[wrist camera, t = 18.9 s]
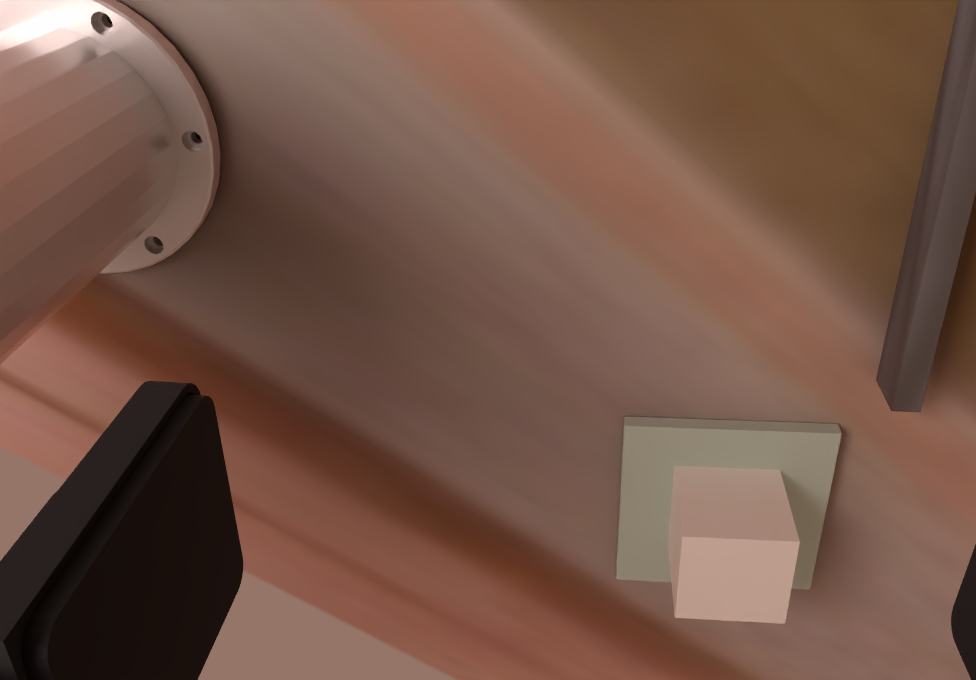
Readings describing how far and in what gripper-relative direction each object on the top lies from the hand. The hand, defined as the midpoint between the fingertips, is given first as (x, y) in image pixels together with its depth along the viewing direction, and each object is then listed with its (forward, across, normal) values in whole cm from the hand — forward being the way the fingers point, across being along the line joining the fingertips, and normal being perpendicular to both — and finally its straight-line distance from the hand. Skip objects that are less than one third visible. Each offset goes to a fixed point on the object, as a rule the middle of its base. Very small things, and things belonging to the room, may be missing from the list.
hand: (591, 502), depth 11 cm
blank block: (+27, -8, +23) cm, 36 cm away
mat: (+28, -8, +23) cm, 37 cm away
